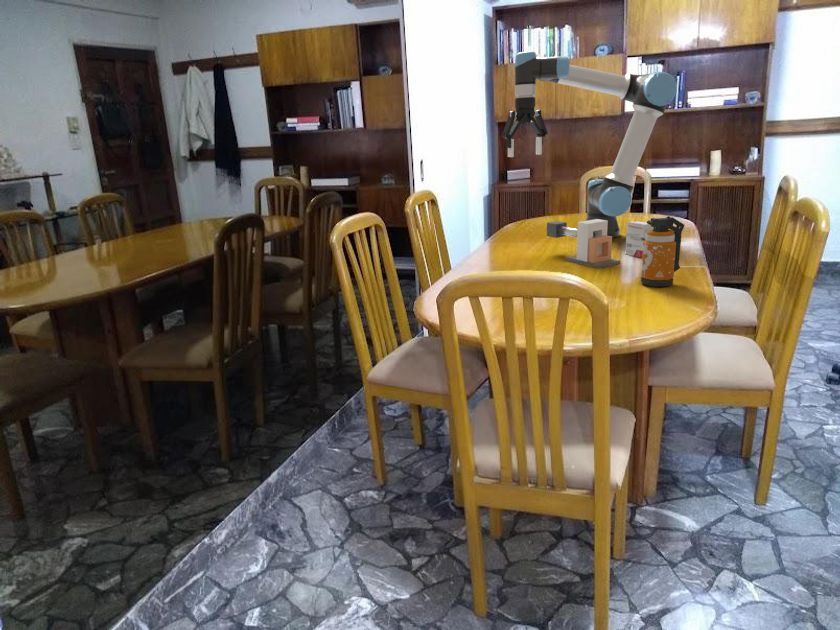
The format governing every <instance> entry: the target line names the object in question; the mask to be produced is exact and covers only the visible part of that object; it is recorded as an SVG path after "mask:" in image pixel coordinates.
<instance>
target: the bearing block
mask: <svg viewBox="0 0 840 630" xmlns="http://www.w3.org/2000/svg"><path fill="white" fill-rule="evenodd" d="M607 226H608V221H607V220H600V219H594V220H588V221H586V220H584V221H577V228H576V229H577V237H576V255H570V256H566V257H564V260H565V261H567V262H571V263H577V264H580V265H585V266H588V267H593V268H597V269H601V268H605V267H610V266H615V265H619V264H621V260H618V259H614V258H611V260H606V261H601V262H596V263H592V262H589V239H590V238H593V232H595V234H596V236H595V237H601V236H607ZM599 255H603V243H598V253H597V256H599Z"/></svg>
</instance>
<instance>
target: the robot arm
mask: <svg viewBox="0 0 840 630" xmlns="http://www.w3.org/2000/svg"><path fill="white" fill-rule="evenodd" d="M514 63H515V64H514V96H515V97H516V98H515V99H514V108H515V110H510V111H508V117H507V120H506V123H505V125H504V128H503V131H502V134H501V138H503V139H505V143H506V148H507V158H514V157H515V154H514V153H515V152H514V151H515V147H514V146H515V142H514V141H515V139H514V138H513V137H514V136H515V134H516V132H517V131H518V129H519V128H520V126H521V125H522V124H529V126H530V127H531V128H532V129H533V131H534V133H535V134H536V136H535V155H536V156H537V155H538V156H542V154H543V145H544V138H545V137H546V136H548V134H549V133H548V131H547V127H546V124H545V122H544V119H543V116H542V115H543V114H542V110H541V109H537V110H535V107H536V97H535V96H536V95H537V94H536V80H539V81H541V82H545V83H546V82H549V83H554V84H559V85H565V86H568V87H573V88H579V89H583V90H587V91H588V90H589V91H593V92H598V93H604V94H606V95H611V96H617V97H618V98H619V99H620V100H622V101H623V100H624V101H626V102H629V103H632V108H633V115H632V116H631V117H632V118H630V122H629V125H628V126H627V127H628V128H627V130H626V132H625V135H624V138H623V140H622V142H621V145H620V148H619V151H618V154H617V156H616V158H615V161H614V163H613V165H612V168H611V171H610V173H608V174H607V175H605V176H604V178H603V179H593V180H590V181H589V182H588V185H587V207H586V208H587V211H586V213H587V214H586V218H585V221H588V220H594V219H600V220H607V221H608V226H607V236H612V239H613V238H618V237H620V235H621V234H620V233H621V232H620V231H621V229H620V226H619V223H618V220H617V219H618V218H617V217H619V216H622V215H624V214H625V213H626V212H627V211H629V209H630V207H631V205H632V193H633V191H634V190H633V189H634V187H635V185H634V182H633V179H634V176H635V174H636V172H637V170H638V166H639V164H640V161H641V159H642V156H643V154H644V151H645V149H646V147H647V144H648V142H649V139H650V137H651V134H652V132H653V130H654V127H655V124H656V122H657V119H658V118H660V117H662V116H663V115H664V113H665V111H666V108H667V106H668V105H669V103H671V102H672V101H673V100H674V98H675V96H676V94H677V89H678V85H677V81H676V79H675V77H673V75H672V74H670V73H668V72H665V71H654V72H651V73H646V74H631V73H626V74H625V75H622V74H617V73H613V72H610V71H609V72H608V71H602V70H598V69H595V68H594V69H593V68H588V67H584V66H580V65H574V64H570V59H569V57H568V56H566V55H565V56H561V55H558V56H546V57H543V56H542V57H538V56H537V53H536V52H535V51H521V52H517V53H516V55H515V62H514Z"/></svg>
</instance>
